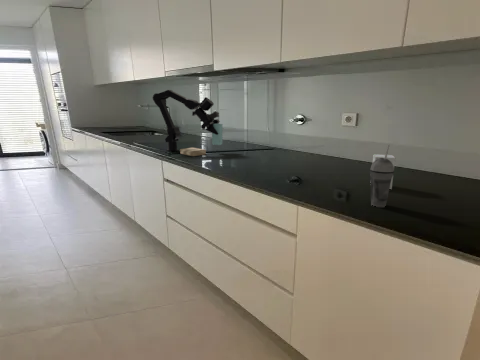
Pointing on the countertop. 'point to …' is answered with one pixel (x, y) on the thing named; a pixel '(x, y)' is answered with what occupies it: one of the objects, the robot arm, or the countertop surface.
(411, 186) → the countertop surface
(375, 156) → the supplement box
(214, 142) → the teal tall block
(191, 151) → the birch base block
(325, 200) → the countertop surface
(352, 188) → the countertop surface
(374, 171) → the beverage cup
